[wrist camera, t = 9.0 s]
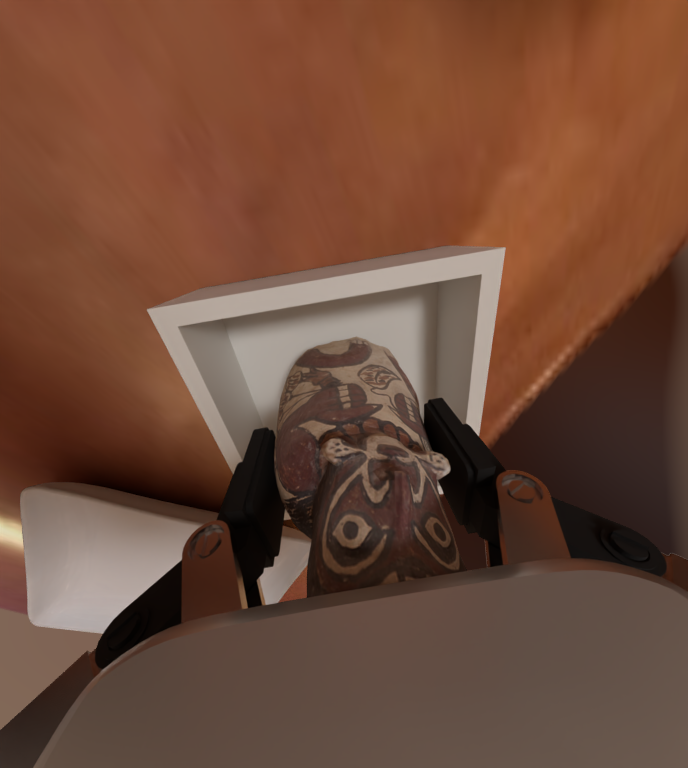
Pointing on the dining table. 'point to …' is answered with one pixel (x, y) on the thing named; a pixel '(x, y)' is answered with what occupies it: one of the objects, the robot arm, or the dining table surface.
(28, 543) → the salad plate
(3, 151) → the dining table surface
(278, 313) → the tray
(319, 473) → the figurine
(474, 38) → the dining table surface
